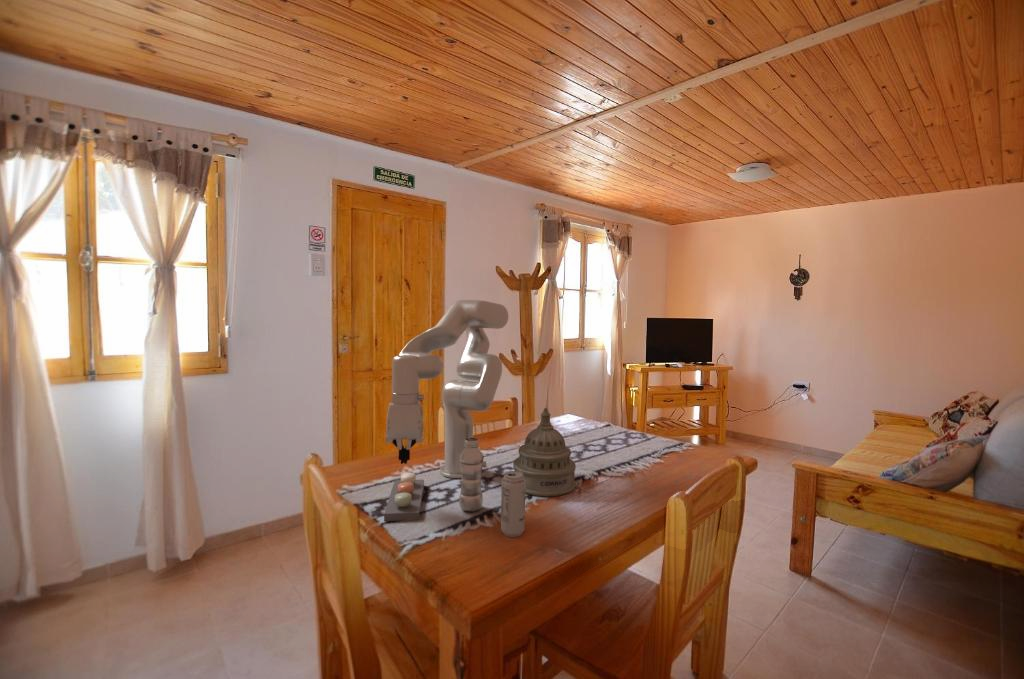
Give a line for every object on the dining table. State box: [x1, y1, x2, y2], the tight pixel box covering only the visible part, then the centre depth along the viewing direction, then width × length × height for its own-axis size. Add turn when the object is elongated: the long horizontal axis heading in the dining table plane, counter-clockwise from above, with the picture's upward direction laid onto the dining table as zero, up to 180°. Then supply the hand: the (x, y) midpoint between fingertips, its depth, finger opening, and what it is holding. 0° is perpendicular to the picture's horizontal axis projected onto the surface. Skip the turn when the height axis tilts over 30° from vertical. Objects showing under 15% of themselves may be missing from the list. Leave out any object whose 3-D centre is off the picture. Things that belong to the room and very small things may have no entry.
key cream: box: [400, 472, 417, 483], centre depth 141 cm, size 4×4×2 cm
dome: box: [512, 407, 577, 497], centre depth 148 cm, size 20×25×20 cm
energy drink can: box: [500, 470, 526, 538], centre depth 117 cm, size 6×6×15 cm
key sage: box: [395, 493, 411, 506], centre depth 126 cm, size 4×4×2 cm
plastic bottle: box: [458, 437, 484, 512], centre depth 129 cm, size 6×7×20 cm
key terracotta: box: [398, 482, 414, 494], centre depth 134 cm, size 4×4×2 cm
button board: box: [383, 479, 425, 522], centre depth 134 cm, size 9×23×2 cm, turn 7°
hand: (404, 462), depth 132 cm, fingers closed
